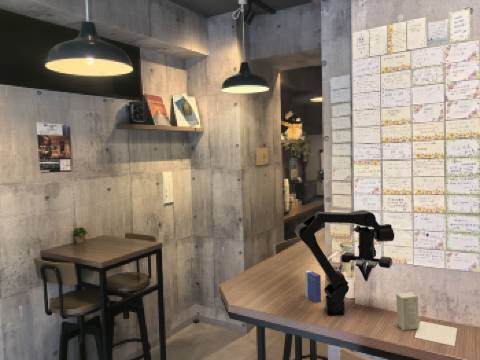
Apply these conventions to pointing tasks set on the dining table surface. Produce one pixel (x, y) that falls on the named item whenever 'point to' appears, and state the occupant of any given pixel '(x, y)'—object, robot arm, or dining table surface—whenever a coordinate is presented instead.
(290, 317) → the dining table surface
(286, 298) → the dining table surface
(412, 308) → the skincare box
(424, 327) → the mat
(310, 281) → the walkman
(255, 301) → the dining table surface
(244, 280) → the dining table surface
